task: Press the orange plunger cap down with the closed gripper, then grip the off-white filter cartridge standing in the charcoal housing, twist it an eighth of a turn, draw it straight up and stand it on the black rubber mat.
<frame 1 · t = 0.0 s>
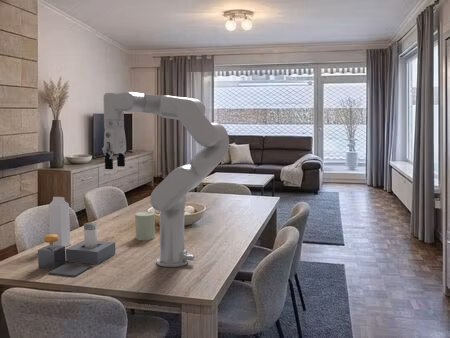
hand: (115, 167, 182), 37 cm above the table, tool pointing down, fingers open, 9 cm apart
plunger: (51, 246, 175), point 8 cm above the table, slide at 0.0 cm
milk: (60, 246, 202), on the table
can: (145, 238, 216), on the table
housing: (91, 257, 186), on the table
mat: (70, 270, 170), on the table
dark grey cube: (52, 265, 175), on the table
cartridge: (90, 240, 185), in the housing
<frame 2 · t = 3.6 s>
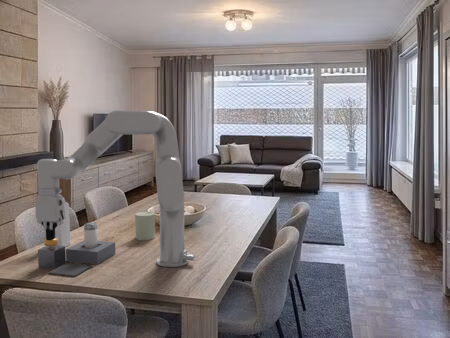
hand: (50, 239, 174), 10 cm above the table, tool pointing down, fingers closed
plunger: (51, 249, 175), point 6 cm above the table, slide at 1.4 cm, touching gripper
everything else where it was.
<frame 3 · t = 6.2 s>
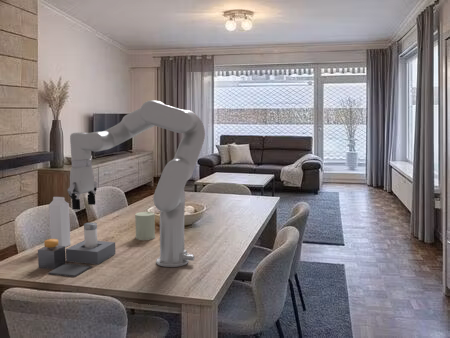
hand: (84, 206, 181), 21 cm above the table, tool pointing down, fingers open, 9 cm apart
plunger: (51, 251, 175), point 6 cm above the table, slide at 1.9 cm
everything else where it was.
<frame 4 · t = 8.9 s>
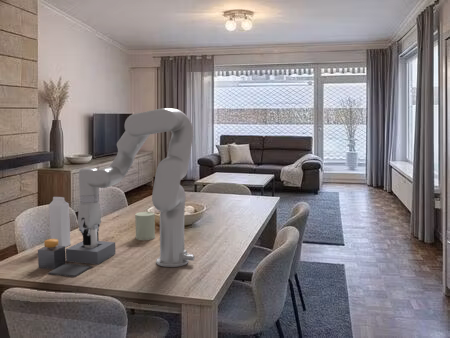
hand: (90, 242, 185), 6 cm above the table, tool pointing down, fingers closed on cartridge, 5 cm apart
cartridge: (90, 240, 185), in the housing, touching gripper
everything else where it was.
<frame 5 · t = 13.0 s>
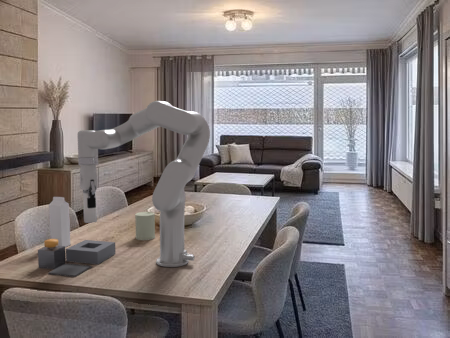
hand: (89, 206, 183), 21 cm above the table, tool pointing down, fingers closed on cartridge, 5 cm apart
cartridge: (89, 204, 183), point 22 cm above the table, touching gripper
everything else where it was.
when the fingers open (8 cm above the table, at t = 17.0 s): cartridge drops 1 cm, resting on mat.
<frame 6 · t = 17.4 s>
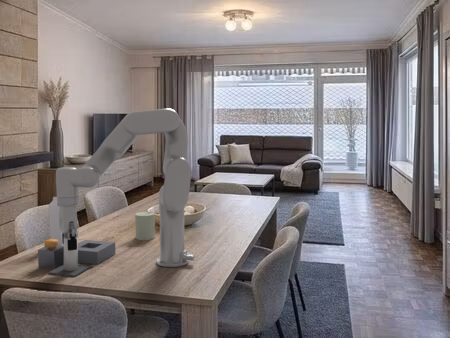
hand: (69, 246, 169), 9 cm above the table, tool pointing down, fingers open, 9 cm apart
cartridge: (70, 250, 169), on the mat, point 8 cm above the table
everything else where it was.
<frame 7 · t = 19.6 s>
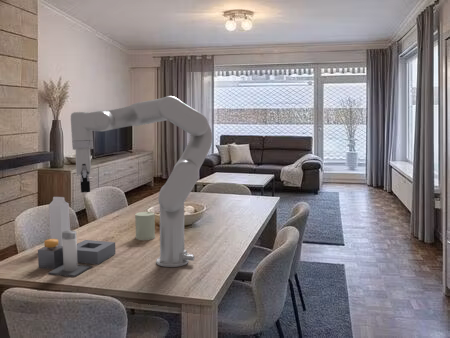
hand: (85, 190, 173), 29 cm above the table, tool pointing down, fingers open, 9 cm apart
nothing on the table moved.
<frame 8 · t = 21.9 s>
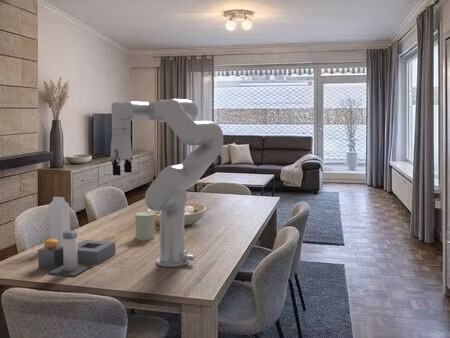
hand: (122, 173, 190), 33 cm above the table, tool pointing down, fingers open, 9 cm apart
nothing on the table moved.
at the end: plunger slide at 1.9 cm; cartridge inside the target area on the mat (0.1 cm from its centre), point 7.6 cm above the mat's base; cartridge tilted 1° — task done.
